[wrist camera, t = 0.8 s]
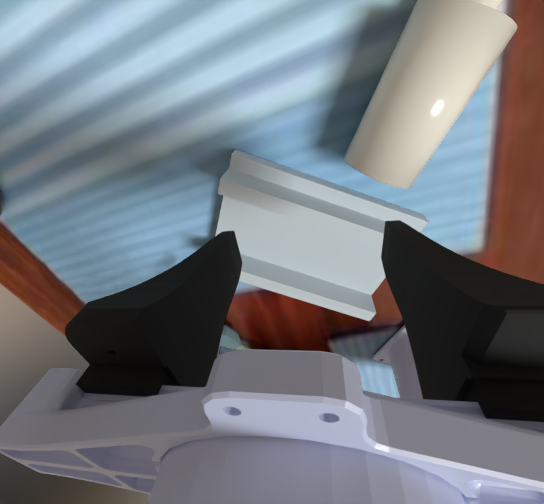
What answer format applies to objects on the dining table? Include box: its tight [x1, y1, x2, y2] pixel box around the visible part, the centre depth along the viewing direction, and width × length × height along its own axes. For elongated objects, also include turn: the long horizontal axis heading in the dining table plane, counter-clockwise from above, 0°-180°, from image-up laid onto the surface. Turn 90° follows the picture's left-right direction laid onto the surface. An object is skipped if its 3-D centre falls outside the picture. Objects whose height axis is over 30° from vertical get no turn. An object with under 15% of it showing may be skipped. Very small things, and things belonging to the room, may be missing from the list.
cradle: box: [215, 150, 428, 321], centre depth 22 cm, size 16×11×4 cm
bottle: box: [344, 0, 517, 188], centre depth 14 cm, size 11×5×5 cm, turn 163°
